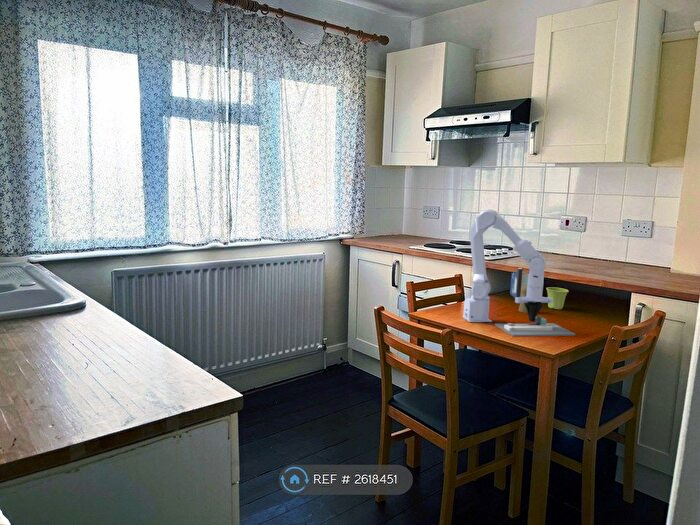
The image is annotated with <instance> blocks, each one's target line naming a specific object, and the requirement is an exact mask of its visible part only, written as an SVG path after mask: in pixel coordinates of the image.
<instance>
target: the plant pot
mask: <svg viewBox="0 0 700 525" xmlns="http://www.w3.org/2000/svg"><path fill="white" fill-rule="evenodd" d="M546 293H547V297H550V298H553V299H552V303H547V306H548V308H550V309H554V310H562V309H564V308H563V307H564V304H565V300H566V296H567V294H568V293H569V290H568V289H566V288H561V287H553V286H552V287H551V286H550V287H546Z"/></svg>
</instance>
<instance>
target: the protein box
mask: <svg viewBox="0 0 700 525" xmlns="http://www.w3.org/2000/svg"><path fill="white" fill-rule="evenodd" d="M523 273H525V272H524V269H522V268H518V270H517V273H514V272H513V273H512V272H511V278H510V290H509V293H510V295H511V296H512V297H513V298H514V299H515V297H522V292H521V289H522V287H524V286H527V284H528V274H523Z"/></svg>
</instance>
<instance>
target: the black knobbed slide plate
mask: <svg viewBox="0 0 700 525" xmlns="http://www.w3.org/2000/svg"><path fill="white" fill-rule="evenodd" d="M541 318H542V316H541V315H537V316H535V322H533V323H534V324H513V323H512V324H513V326H550V325H548V324H541Z"/></svg>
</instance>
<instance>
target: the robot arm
mask: <svg viewBox="0 0 700 525" xmlns="http://www.w3.org/2000/svg"><path fill="white" fill-rule="evenodd" d="M491 227H492V228H493V229H496V230H499V231H501V232H502V233H503V234H504V235H505V236H506V237H507V238H508V239H509V240H510V241H511V243H513V244H514V251H515V252H516V253H517V254H518V255H519V256H520V257H521V258H522V259H523V260H524V262H526V263H527V265H529V268H530V269H529V274H528V284H527V294H526V296H525V297H515V298H514V303H516V304H520V303H524V304H525V306H526V309H527V312H528V313H527V316H528V321H530V323H531V322H532V323H535V316H538V314H539V312H540V311H541V309H542V308H543V306H544V304H546V303H547V304H548V303H552V299H553V298H550V297H548V296H546V297H545V296H543V291H544V279H545V275H544V274H545V267H546V265H547V264H546V263H547V262H546V258H545V257H544V255H542V254H541V252H540V251H537V249H536V248H535V247H534V246H533V245H532V244H533V242H532V241H530V240H527V239H522V238H521V237H520V236H519V234H517V232H516V231H515V230H514V229H513V227H512V226H511V225H510V224H509V223H508V222H507V220H505V218H503V216H501V215H500V214H499V213H498V212H497V211H496V210H494V209H486V210H485V209H484V210H483V211H481V212H479V214H477V216H475V220H474V221H473V223H472V226H471V227H470V228H469V237H470V238H469V239H470V251H471V259H472V260H471V262H472V269H473V270H472V272H473V277H472V285H471V286H472V287H471V290H470V292H471V297H466V298H465V299H464V302H463V312H462V318H463V319H465V320H466V321H468V322H469V323H486V322H487V323H491V322H493V320H491V319H490V318H489V312H490V311H489V310H490V302H491V301H490V300H491V297H490V296H489V293H490V292H491V290H492V287H491V286H492V285H491V283H490V281H489V278H488V274H487V268H486V258H485V257H486V256H485V246H484V245H485V244H484V234H485V233H486V231H487V230H488V229H489V228H491Z"/></svg>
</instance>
